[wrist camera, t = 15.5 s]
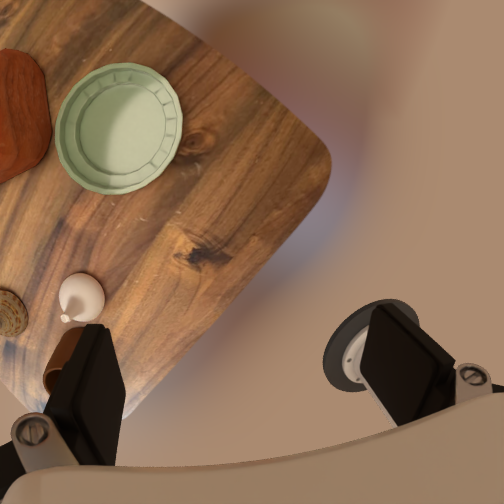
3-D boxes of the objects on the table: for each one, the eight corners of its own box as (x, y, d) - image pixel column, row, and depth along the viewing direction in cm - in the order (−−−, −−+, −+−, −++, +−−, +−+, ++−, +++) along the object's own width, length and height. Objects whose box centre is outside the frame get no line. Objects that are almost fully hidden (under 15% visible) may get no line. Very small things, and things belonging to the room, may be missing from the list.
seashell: (-27, 282, 31) (0, 309, 30) (0, 273, 37) (28, 296, 36) (-23, 328, 33) (4, 356, 32) (1, 317, 39) (29, 341, 38)
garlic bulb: (72, 314, 38) (53, 347, 30) (58, 273, 36) (34, 301, 28) (112, 310, 39) (98, 344, 31) (99, 266, 37) (81, 295, 29)
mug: (98, 391, 43) (87, 434, 34) (56, 374, 40) (39, 414, 32) (114, 338, 40) (101, 382, 31) (66, 317, 38) (43, 357, 29)
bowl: (167, 55, 30) (165, 45, 26) (197, 168, 35) (197, 170, 32) (57, 97, 29) (44, 93, 25) (86, 205, 34) (75, 212, 30)
